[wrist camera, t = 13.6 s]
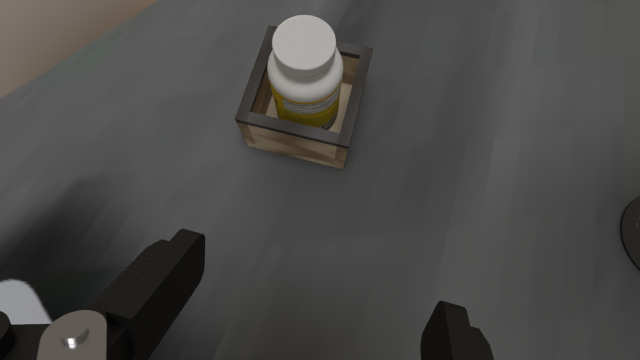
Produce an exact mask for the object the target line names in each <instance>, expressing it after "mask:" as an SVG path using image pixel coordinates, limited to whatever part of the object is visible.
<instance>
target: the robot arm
mask: <svg viewBox="0 0 640 360" xmlns="http://www.w3.org/2000/svg"><path fill="white" fill-rule="evenodd" d="M622 237H623V241H624V244H625V247H626V249H627V251H628V253H629V255H630V257H631V258H632V260H633V261H634V262H635V264H636V265H637V266H638V267H639V268H640V197H639V198H637V199H636V200H634V201H633V202H632V203H631V204H630V205H629V206H628V208H627V209H626V211H625V213H624V216H623V219H622ZM204 266H205V236H204V234H200V233H197V232H193V231H189V230H186V229H181V230H179V231H178V232H177V233H176V235H175V236H174V237H173V238H172V239H171V240H170V241H166V240H163V239H162V240H160V241H158V242H156V243H154V244H152V245H150V246H148V247H147V248H146V249H145V250H144V251H143V252H142V253H141V254H140V255H139V256H138V257H137V258H136V259H135V261H133V262H132V263H131V264H130V265H129V266H128V267H127V268H126V270H125V271H123V272H122V273H121V274H120V275H119V276H118V277H117V278H116V279H115V280H114V281H113V282H112V283H111V284H110V285H109V286H108V287H107V288H106V289H105V290H104V291H103V293H102V294H101V295H100V296H99V297H98V298H97V299H96V300H95V301H94V302H93V303H92V304H91V305H90V306H89V307H88V308H86V309H85V310H81V311H75V312H72V313H69V314H66V315H64V316H62V317H60V318H59V319H57V320H55V321H54V322H53V323H52V324H24V325H11V323H10V320H9V318H8V316H7V315H6V314H5V313H3V312H1V311H0V360H148V359H149V357H150V356H151V354H152V353H153V351H154V350H155V348H156V347H157V346H158V344H159V343H160V341H161V340H162V338H163V337H164V335H165V334H166V332H167V331H168V329H169V328H170V326H171V325H172V323H173V322H174V320H175V319H176V317H177V316H178V314H179V313H180V311H181V310H182V308H183V307H184V305H185V304H186V302H187V301H188V300H189V298H190V297H191V295H192V294H193V292H194V291H195V289H196V288H197V286H198V285H199V283H200V281H201V278H202V276H203V272H204ZM420 349H421V360H494V359H493V355H492V351H491V348H490V345H489V343H488V342H487V340H486V339H485V337H484V335H483V334H482V332H481V331H480V329H478V328H475V327H471V326H470V323H469V319H468V314H467V311H466V309H465V307H462V306H459V305H455V304H451V303H448V302H444V301H439V302H438V304H437V305H436V307H435V309H434V311H433V313H432V315H431V317H430V319H429V321H428V323H427V325H426V327H425V329H424V331H423V334H422V338H421V348H420Z"/></svg>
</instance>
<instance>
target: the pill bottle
mask: <svg viewBox="0 0 640 360" xmlns="http://www.w3.org/2000/svg"><path fill="white" fill-rule="evenodd" d="M272 49H273V50H272V52H271V54H270V56H269V59H268V65H267V69H268V77H269V81H270V85H271V89H272V93H273V98H274V102H275V106H276V110H277V114H278V117H279V119H283V120H287V121H291V122H295V123H299V124H304V125H308V126H312V127H316V128H320V129H324V130H329V129H330V128H331V127H332V125H333V124H334V122H335V120H336V118H337V114H338V109H339V100H340V91H341V84H342V77H343V61H342V57H341V55H340V52H339V51H338V49H337V48H336V38H335V34H334V32H333V30H332V29H331V27H330V26H329V25H328V24H327V23H326V22H325V21H323V20H321V19H319V18H317V17H314V16H309V15H299V16H294V17H291V18H289V19H287V20H285V21H284V22H283V23H281V24H280V25H279V26H278V28H277V29H276V31H275V33H274V35H273V39H272Z"/></svg>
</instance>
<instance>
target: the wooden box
mask: <svg viewBox="0 0 640 360" xmlns="http://www.w3.org/2000/svg"><path fill="white" fill-rule="evenodd" d="M277 28H278V27H275V26H270V25H269V26H268V29H267V32H266V34H265V37H264V40H263V43H262V45H261V48H260V51H259V54H258V57H257V59H256V62H255V65H254V68H253V70H252V73H251V76H250V79H249V82H248V84H247V87H246V90H245V93H244V95H243V98H242V101H241V104H240V107H239V109H238V112H237V115H236V118H235V120H236V122H237V124H238V126H239V128H240V130H241V132H242V135H243V137H244V139H245V141H246V143H247V145H248V146H250V147H254V148H258V149H262V150H266V151H270V152H274V153H278V154H282V155H286V156H290V157H295V158H299V159H303V160H307V161H311V162H315V163H319V164H323V165H327V166H331V167H335V168H339V169H343V168H344V164H345V160H346V156H347V152H348V148H349V144H350V140H351V136H352V132H353V128H354V124H355V120H356V116H357V112H358V108H359V104H360V100H361V96H362V92H363V88H364V84H365V80H366V76H367V72H368V68H369V64H370V60H371V56H372V52H373V49H372V48H368V47H363V46H359V45H354V44H350V43H345V42H341V41H337V40H336V48H337V49H338V51H339V52H340V55H341V57H342V61H343V77H342V84H341V91H340V100H339V109H338V114H337V118H336V120H335V122H334V124H333V125H332V127H331V128H330V129H329V130H324V129H320V128H316V127H312V126H308V125H304V124H299V123H295V122H291V121H287V120H283V119H279V117H278V114H277V110H276V106H275V102H274V98H273V93H272V89H271V85H270V81H269V77H268V69H267V65H268V59H269V56H270V54H271V52H272V50H273V49H272V39H273V35H274V33H275V31H276V29H277Z"/></svg>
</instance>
